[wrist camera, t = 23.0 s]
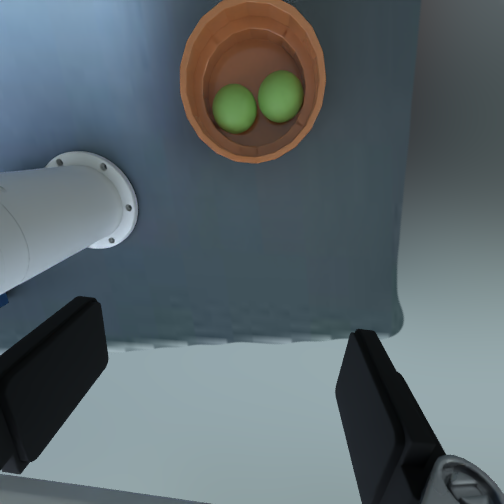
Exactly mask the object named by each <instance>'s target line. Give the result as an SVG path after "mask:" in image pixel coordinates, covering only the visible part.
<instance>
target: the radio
mask: <svg viewBox="0 0 504 504" xmlns="http://www.w3.org/2000/svg"><path fill="white" fill-rule="evenodd" d="M7 303H9V302H8V298H7V294H6V292H5V293H3V294H1V295H0V308H1V307H2V306H4V305H6V304H7Z"/></svg>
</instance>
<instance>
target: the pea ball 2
mask: <svg viewBox="0 0 504 504" xmlns="http://www.w3.org/2000/svg"><path fill="white" fill-rule="evenodd" d="M303 96H304V93H303V87H302V84H301V82H300V80H299V79H298V78H297V77H296V76H295V75H294V74H293V73H291V72H289V71H285V70H279V71H275V72H273V73H271V74H269V75H268V76H267V77H266V78H265V79H264V80H263V82H262V83H261V85H260V88H259V91H258V104H259V108H260V110H261V112H262V113H263V115H264V116H265V117H266V118H267V119H269V120H271V121H273V122H277V123H282V122H286V121H289V120H290V119H292V118H293V117H294V116H295V115H296V114H297V113H298V112H299V110H300V108H301V106H302V103H303Z"/></svg>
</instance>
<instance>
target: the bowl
mask: <svg viewBox="0 0 504 504" xmlns="http://www.w3.org/2000/svg"><path fill="white" fill-rule="evenodd" d="M279 70H285V71H289V72H291V73H293V74H294V75H295V76H296V77H297V78H298V79H299V80H300V82H301V84H302V87H303V93H304V96H303V103H302V106H301V108H300V110H299V112H298V113H297V114H296V115H295V116H294V117H293V118H292V119H290V120H289V121H286V122H282V123H277V122H273V121H271V120H269V119H267V118H266V117H265V116H264V115H263V113H262V112H261V110H260V108H259V104H258V91H259V88H260V85H261V83H262V82H263V80H264V79H265V78H266V77H267V76H268V75H269V74H271V73H273V72H275V71H279ZM228 84H240V85H242V86H244V87H246V88H247V89H248V90H249V91H250V92H251V93H252V94H253V96H254V98H255V101H256V105H257V114H256V118H255V121H254V123H253V124H252V126H251V127H250V128H249V129H248V130H246V131H245V132H242V133H239V134H232V133H228V132H226V131H224V130H223V129H222V128H220V127H219V125H218V124H217V123H216V121H215V119H214V116H213V110H212V106H213V100H214V98H215V95H216V94H217V92H218V91H219V90H220V89H221V88H222V87H224V86H226V85H228ZM325 84H326V72H325V64H324V55H323V50H322V48H321V46H320V43H319V41H318V39H317V37H316V34H315V32H314V30H313V27H312V26H311V25H310V24H309V23H308V21H307V20H306V19H305V18H304V17H303V16H302V15H301V14H300V13H299V11H298V10H297V9H296V8H295V7H294V6H292V5H290V4H288V3H286V2H284V1H282V0H223V1H222V2H220V3H219V4H217V5H216V6H215V7H214V8H213V9H211V10H210V11H209V12H208V13H207V14H205V15H204V16H203V17H202V18H201V19H200V21H199V22H198V24H197V25H196V27H195V29H194V30H193V32H192V34H191V35H190V37H189V38H188V40H187V42H186V46H185V50H184V53H183V57H182V61H181V65H180V93H181V94H180V95H181V98H182V102H183V105H184V109H185V112H186V116H187V118H188V120H189V122H190V123H191V125H192V127H193V128H194V130H195V132H196V133H197V135H198V136H199V138H200V139H201V140H202V141H203V142H204V143H206V144H207V145H208V146H209V147H210V148H211V149H212V150H213V151H214V152H216V153H217V154H220V155H222V156H224V157H226V158H229V159H231V160H233V161H236V162H245V163H261V162H265V161H269V160H273V159H276V158H279V157H280V156H282V155H283V154H285V153H287V152H288V151H290V150H292V149H293V148H295V147H296V146H297V145H298V144H299V143H300V141H301V140H302V139H303V138H304V137H305V136H306V135H307V133H308V132H309V131H310V130H311V128H312V126H313V124H314V122H315V120H316V118H317V116H318V114H319V111H320V109H321V107H322V103H323V97H324V91H325Z"/></svg>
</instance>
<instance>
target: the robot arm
mask: <svg viewBox="0 0 504 504" xmlns="http://www.w3.org/2000/svg"><path fill="white" fill-rule="evenodd" d="M106 166H107V168H106ZM130 205H131V206H130ZM131 207H132V208H131ZM137 216H138V203H137V199H136V195H135V192H134V190H133V187H132V185H131V183H130V182H129V180H128V178H127V177H126V176H125V175H124V173H123V172H122V171H121V170H120V169H119V168H118V167H117V166H116V165H115V164H113V163H112V162H111V161H109V160H107V159H106V158H104V157H102V156H100V155H97V154H95V153H90V152H85V151H73V152H66V153H63V154H60V155H58V156H56V157H55V158H53V159H52V160H51V161H50V162H49V163H48V164H47V165H46V167H45V168H40V169H31V170H21V171H11V172H1V173H0V295H1V294H3V293H5V292H6V291H8V290H10V289H12V288H14V287H15V286H17V285H19V284H21V283H23V282H25V281H27V280H29V279H30V278H32V277H34V276H36V275H38V274H40V273H41V272H43V271H45V270H47V269H49V268H50V267H52V266H54V265H56V264H58V263H59V262H61V261H63V260H65V259H67V258H68V257H70V256H72V255H74V254H76V253H77V252H79V251H81V250H83V249H85V248H86V247H89V248H94V249H103V248H109V247H112V246H114V245H117V244H119V243H120V242H122V241H123V240H125V239H126V238H127V237H128V236H129V235H130V233H131V232H132V231H133V229H134V227H135V224H136V222H137ZM107 363H108V351H107V344H106V337H105V330H104V323H103V316H102V309H101V304H100V303H99V302H97V300H96V299H95V298H91V297H83V296H78V297H76V298H74V299H73V300H72V301H70V302H69V303H68V304H67V305H65V306H64V307H63V308H61V309H60V310H59V311H57V312H56V313H55V314H54V315H52V316H51V317H50V318H48V319H47V320H46V321H44V322H43V323H42V324H41V325H39V326H38V327H37V328H35V329H34V330H33V331H32V332H30V333H29V334H28V335H26V336H25V337H24V338H22V339H21V340H20V341H19V342H17V343H16V344H15V345H13V346H12V347H11V348H10V349H8V350H7V351H6V352H4V353H3V354H2V355H0V470H2V472H8V473H15V474H21V473H22V472H23V470H24V469H25V468H26V466H27V465H28V464H29V463H30V462H32V461H34V460H36V459H37V457H39V455H40V454H41V453H42V451H43V450H44V449H45V447H46V446H47V445H48V443H49V442H50V441H51V439H52V438H53V437H54V435H55V434H56V433H57V431H58V430H59V429H60V427H61V426H62V425H63V424H64V422H65V421H66V419H67V418H68V417H69V416H70V414H71V413H72V412H73V410H74V409H75V408H76V406H77V405H78V403H79V402H80V401H81V399H82V398H83V397H84V396H85V394H86V393H87V392H88V390H89V389H90V388H91V386H92V385H93V384H94V382H95V381H96V380H97V378H98V377H99V376H100V374H101V373H102V372H103V370H104V369H105V368H106V366H107ZM335 393H336V399H337V404H338V408H339V412H340V416H341V420H342V424H343V428H344V432H345V436H346V440H347V444H348V448H349V452H350V457H351V461H352V465H353V469H354V473H355V477H356V481H357V485H358V489H359V493H360V497H361V501H362V504H504V494H503V493H502V491H501V490H500V488H499V487H498V486H497V484H496V483H495V482H494V481H493V480H492V479H491V478H490V477H489V476H488V475H487V474H486V473H485V472H483V471H482V470H481V469H480V468H478V467H477V466H476V465H474V464H473V463H471V462H469V461H467V460H465V459H464V458H461V457H458V456H454V455H446V454H445V452H444V450H443V448H442V446H441V444H440V443H439V441H438V439H437V437H436V435H435V434H434V432H433V430H432V428H431V427H430V425H429V423H428V421H427V420H426V418H425V416H424V414H423V412H422V410H421V409H420V407H419V405H418V403H417V401H416V399H415V398H414V396H413V394H412V392H411V391H410V389H409V387H408V385H407V383H406V382H405V380H404V378H403V377H402V375H401V374H400V373H398V372H397V371H396V369H395V368H394V366H393V364H392V362H391V360H390V358H389V357H388V355H387V353H386V351H385V349H384V347H383V346H382V344H381V342H380V340H379V338H378V336H377V334H376V333H375V331H372V330H363V329H357V330H356V331H355V333H354V332H352V333H351V334H350V336H349V340H348V344H347V347H346V351H345V355H344V358H343V362H342V366H341V369H340V373H339V377H338V381H337V384H336V390H335ZM0 504H209V503H203V502H196V501H189V500H182V499H175V498H168V497H161V496H153V495H147V494H140V493H133V492H126V491H119V490H112V489H105V488H98V487H91V486H84V485H77V484H69V483H62V482H55V481H47V480H40V479H33V478H26V477H18V476H11V475H3V474H0Z"/></svg>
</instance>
